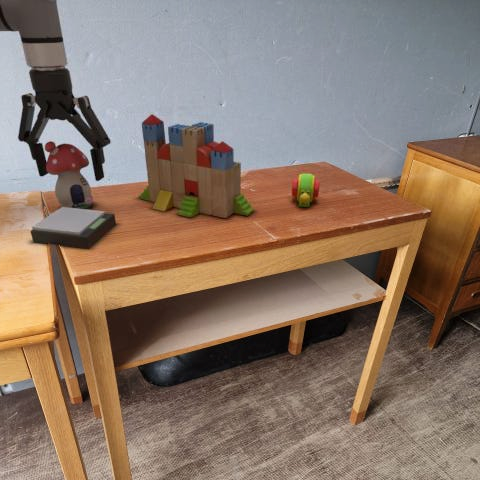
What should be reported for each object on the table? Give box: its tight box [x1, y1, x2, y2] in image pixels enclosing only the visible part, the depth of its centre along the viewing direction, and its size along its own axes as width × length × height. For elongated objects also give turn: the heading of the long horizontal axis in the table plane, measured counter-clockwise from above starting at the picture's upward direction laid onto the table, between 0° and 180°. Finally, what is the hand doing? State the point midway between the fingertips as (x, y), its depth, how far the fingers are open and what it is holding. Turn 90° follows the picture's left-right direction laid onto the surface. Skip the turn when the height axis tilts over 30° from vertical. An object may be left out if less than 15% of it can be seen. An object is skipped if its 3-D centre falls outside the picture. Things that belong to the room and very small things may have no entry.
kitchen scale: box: [30, 206, 117, 249], centre depth 90 cm, size 12×12×3 cm
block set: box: [138, 113, 255, 219], centre depth 99 cm, size 28×14×19 cm, turn 61°
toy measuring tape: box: [291, 173, 321, 208], centre depth 109 cm, size 6×19×7 cm, turn 171°
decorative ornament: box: [44, 140, 94, 210], centre depth 99 cm, size 9×6×15 cm
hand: (72, 176), depth 99 cm, fingers open, 13 cm apart
